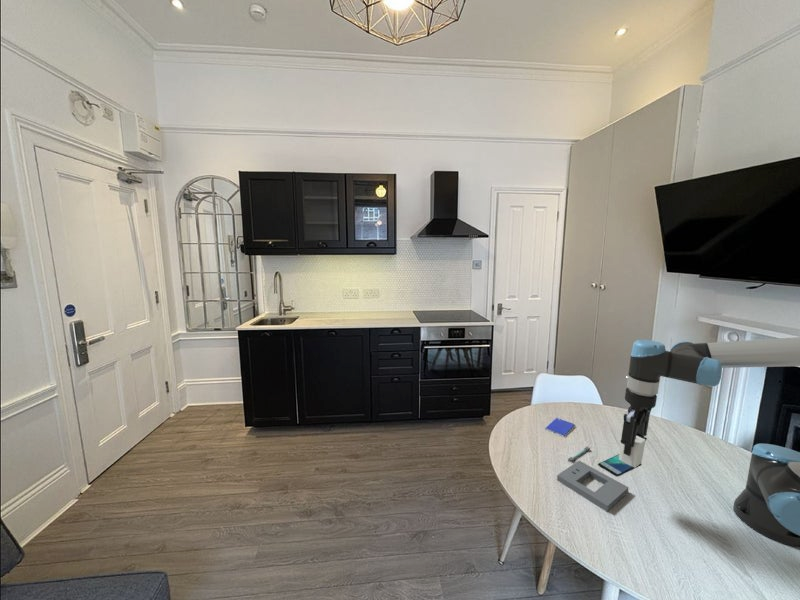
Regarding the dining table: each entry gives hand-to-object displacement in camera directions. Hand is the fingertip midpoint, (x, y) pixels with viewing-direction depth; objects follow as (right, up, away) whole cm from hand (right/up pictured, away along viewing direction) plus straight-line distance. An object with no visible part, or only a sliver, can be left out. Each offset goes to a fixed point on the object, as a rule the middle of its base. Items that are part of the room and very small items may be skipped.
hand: (630, 460), depth 99 cm
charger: (0, 0, 0) cm, 0 cm away
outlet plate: (-8, -13, +7) cm, 17 cm away
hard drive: (-1, -8, +42) cm, 43 cm away
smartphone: (+9, -11, +18) cm, 23 cm away
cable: (-3, -10, +23) cm, 26 cm away
